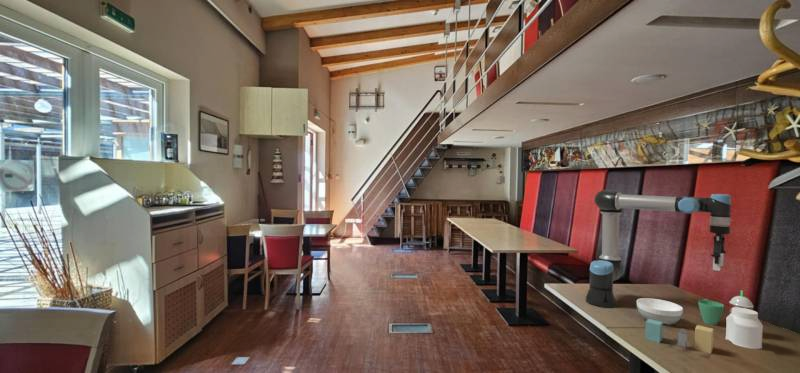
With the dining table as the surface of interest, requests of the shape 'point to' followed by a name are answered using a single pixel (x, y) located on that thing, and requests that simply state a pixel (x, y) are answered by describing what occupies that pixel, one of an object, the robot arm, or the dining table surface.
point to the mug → (710, 311)
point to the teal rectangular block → (653, 330)
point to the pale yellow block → (703, 339)
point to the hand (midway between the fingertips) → (718, 268)
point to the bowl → (659, 310)
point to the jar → (744, 328)
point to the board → (689, 349)
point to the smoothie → (740, 302)
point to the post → (682, 338)
